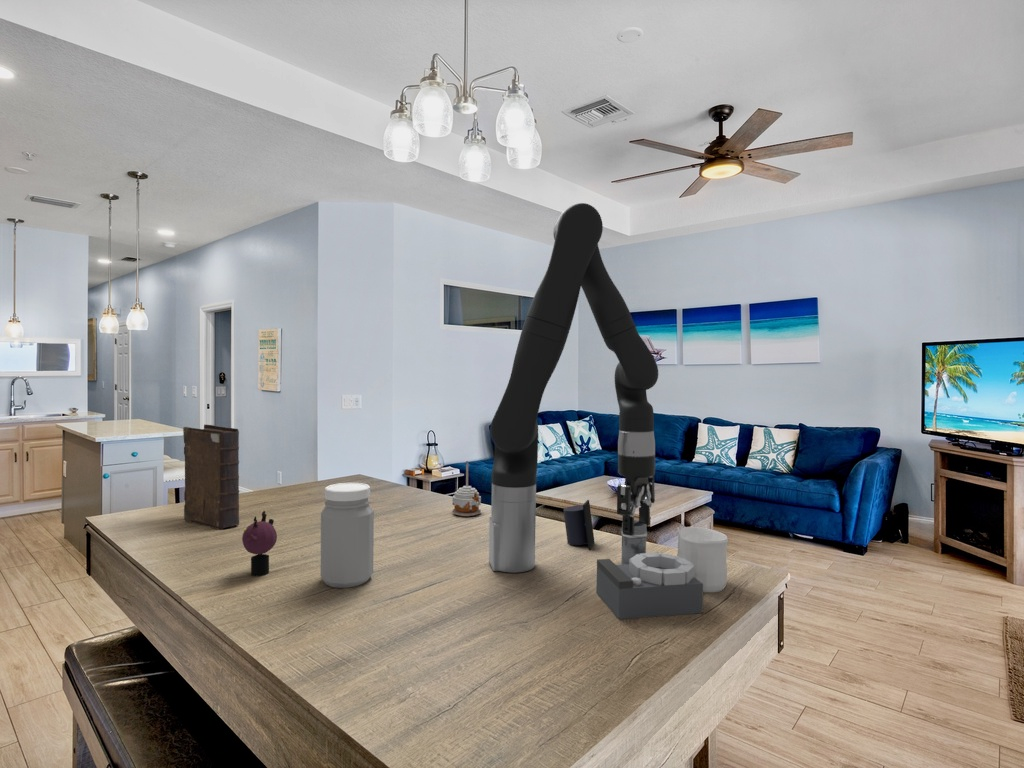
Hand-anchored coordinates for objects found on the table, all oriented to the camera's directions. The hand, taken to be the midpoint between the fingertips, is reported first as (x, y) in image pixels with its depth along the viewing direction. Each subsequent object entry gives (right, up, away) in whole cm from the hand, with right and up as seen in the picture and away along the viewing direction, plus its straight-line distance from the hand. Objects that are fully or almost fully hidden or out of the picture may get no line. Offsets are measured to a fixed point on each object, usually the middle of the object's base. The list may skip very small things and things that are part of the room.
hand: (636, 529), depth 118 cm
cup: (+10, -8, -9) cm, 16 cm away
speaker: (-10, -8, +15) cm, 20 cm away
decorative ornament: (-39, -6, +41) cm, 57 cm away
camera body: (-2, -8, -18) cm, 20 cm away
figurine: (-76, -7, -7) cm, 76 cm away
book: (-103, -6, +28) cm, 107 cm away
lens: (-1, -8, +1) cm, 8 cm away
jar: (-58, -7, -9) cm, 59 cm away
